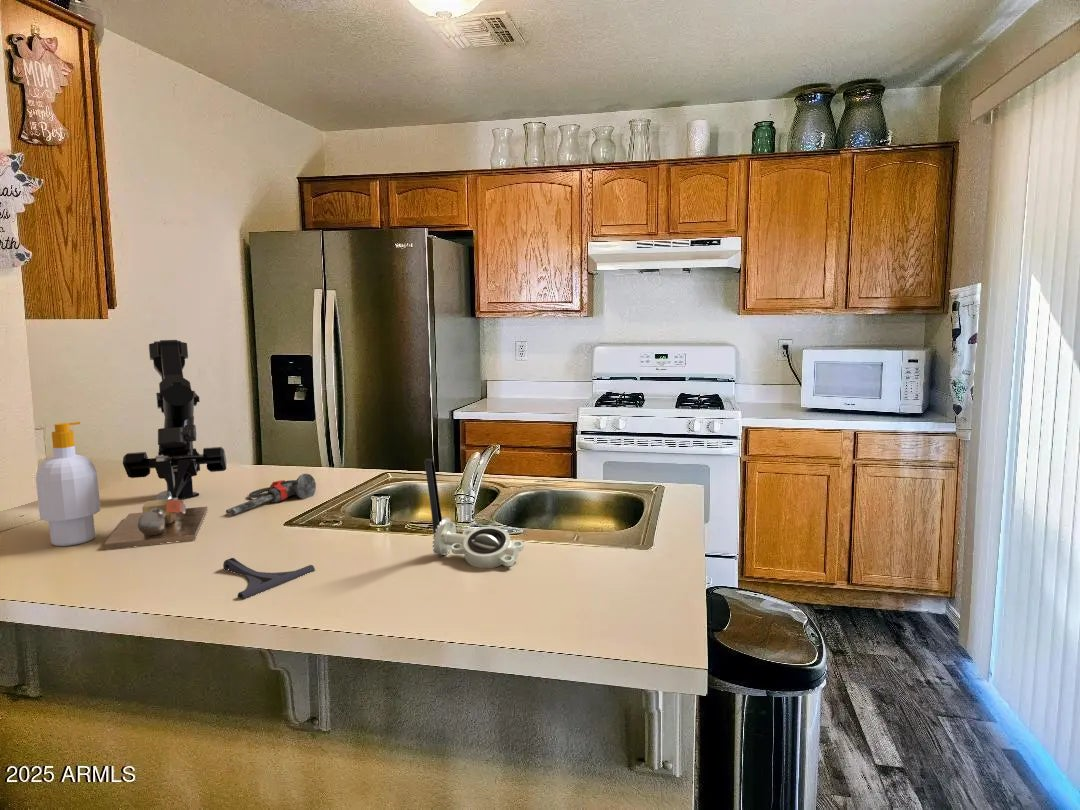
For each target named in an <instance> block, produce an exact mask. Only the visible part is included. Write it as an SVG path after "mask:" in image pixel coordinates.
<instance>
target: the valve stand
mask: <svg viewBox="0 0 1080 810" xmlns="http://www.w3.org/2000/svg"><path fill="white" fill-rule="evenodd" d="M171 500H178V497H177V498H172V495H171V492H170V491H167V490H163V491H160V492H159V493H158V494H156V495H155V497H154V499H153V500H146V502H145V503H144V504H143V505H142V506H141V507H142V511H141V512H131V513H128V515H127V516H125V518H124V519H123V520H122V522H121V523H120V524H119V525H118V527H117V528H116V529H115V530H114V531H113V532H112V534H111V535H110V536H109V537H108V539H106V541H105V542H104V543H103V547H104V548H103V549H104V551H109V550H108V549H111V550H117V548H120V549H125V548H124V547H130V548H135V547H134V546H139V547H145V546H144V545H148V546H152V545H151V544H158V545H161V544H160V543H167V542H176V541H186V542H188V541H187V540H195V539H196V540H197V538H196V536H197V537H198V535H199V533H200V531H199V530H201V528H202V526H203V524H204V521H205V519H206V517H205V516H207V514H208V512H207V511H209V508H208V506H199V507H198V506H197V507H188V508H187V507H186V514H179V513H175V514H169V513H167V501H171ZM206 513H207V514H206ZM204 518H205V519H204ZM203 520H204V521H203ZM202 523H203V524H202ZM201 525H202V526H201ZM200 527H201V528H200ZM198 532H199V533H198ZM197 534H198V535H197ZM196 540H195V541H196ZM167 544H168V543H167Z"/></svg>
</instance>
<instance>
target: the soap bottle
mask: <svg viewBox="0 0 1080 810" xmlns="http://www.w3.org/2000/svg"><path fill="white" fill-rule="evenodd" d="M75 425H81V421H74V422H61V423H59V422H58V423H54V431H52V432H51V441H52V450H53V456H52V457H48V458H47V459H46V460H44V461H42V462H41V463H40V464H39V466H38V468H37V471H36V475H35V484H36V492H37V503H38V511H39V519H40V520H41V521H44V522H48V527H49V537H50V543H51V544H52V545H53V546H56V547H69V546H75V545H80V544H84V543H88V542H89V541H92V540H93V539H94V538H95V537H96V529H95V519H94V515H95V514H98V513H99V512H100V511H101V504H100V503H101V501H100V492H99V491H100V489H99V481H98V471H97V468H96V466H95V464H94V462H93V461H92V460H91V459H90V458H88V457H87V456H84V455H81V454H76V445H75V436H74V430H70V426H75Z"/></svg>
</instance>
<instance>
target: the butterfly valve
mask: <svg viewBox="0 0 1080 810" xmlns="http://www.w3.org/2000/svg"><path fill="white" fill-rule="evenodd" d="M423 463H424V467H425V475H426V483H427V489H428V495H429V497H428V498H429V502H430V511H431V522H432V530H433V538H432V540H433V541H432V544H433V545H432V548H433V549H432V551H433V553H434V555H435V556H436V557H441V556H442V555H443V556H445V555H448V554H449V553H450V552H452V554H454V555H464V558H465V561H466V562H467V564H469V565H470V566H472V567H475V568H481V569H493V568H497V567H500V566H502V565H503V566H504V567H510V566H512V567H513V565H514V564H515V561H516V560H517V559H518V557H519V553H520V552H522V551H523V550H524V549H525V545H524V542H523V541H522V540H520V539H517V540H512V539H511V535H510V534H509V532H508V531H506V530H505V529H503V528H501V527H495V526H482V527H480V528H476V529H475V530H473V529H468V528H467V529H464V530H463V531H462V533H457V526H456V524H455V522H453V521H452V520H451V517H444V518H443V516H442V511H441V505H440V504H441V503H440V498H439V490H438V482H437V475H436V466H435V459H433V458H428V457H427V458H426V459H424V461H423Z"/></svg>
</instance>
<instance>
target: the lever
mask: <svg viewBox="0 0 1080 810" xmlns="http://www.w3.org/2000/svg"><path fill="white" fill-rule="evenodd" d="M186 508H187V505H186V503H184V500H183V499H180V500H171V501H167V513H169V514H175V513H179V514H186Z"/></svg>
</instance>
